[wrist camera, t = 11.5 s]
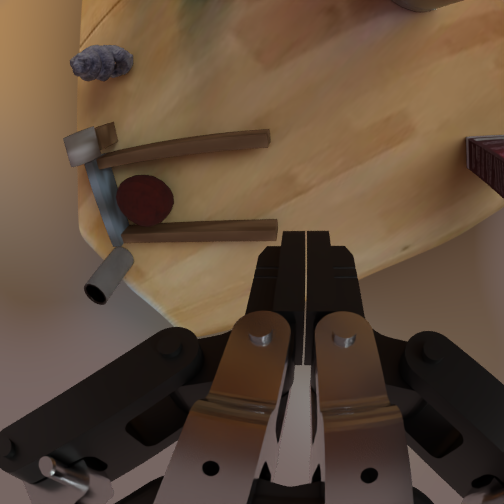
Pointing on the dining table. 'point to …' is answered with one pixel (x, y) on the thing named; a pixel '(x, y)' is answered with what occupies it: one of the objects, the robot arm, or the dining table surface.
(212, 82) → the dining table surface
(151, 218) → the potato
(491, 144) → the supplement box
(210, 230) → the bay
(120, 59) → the grey lumpy rock
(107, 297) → the grey tube
